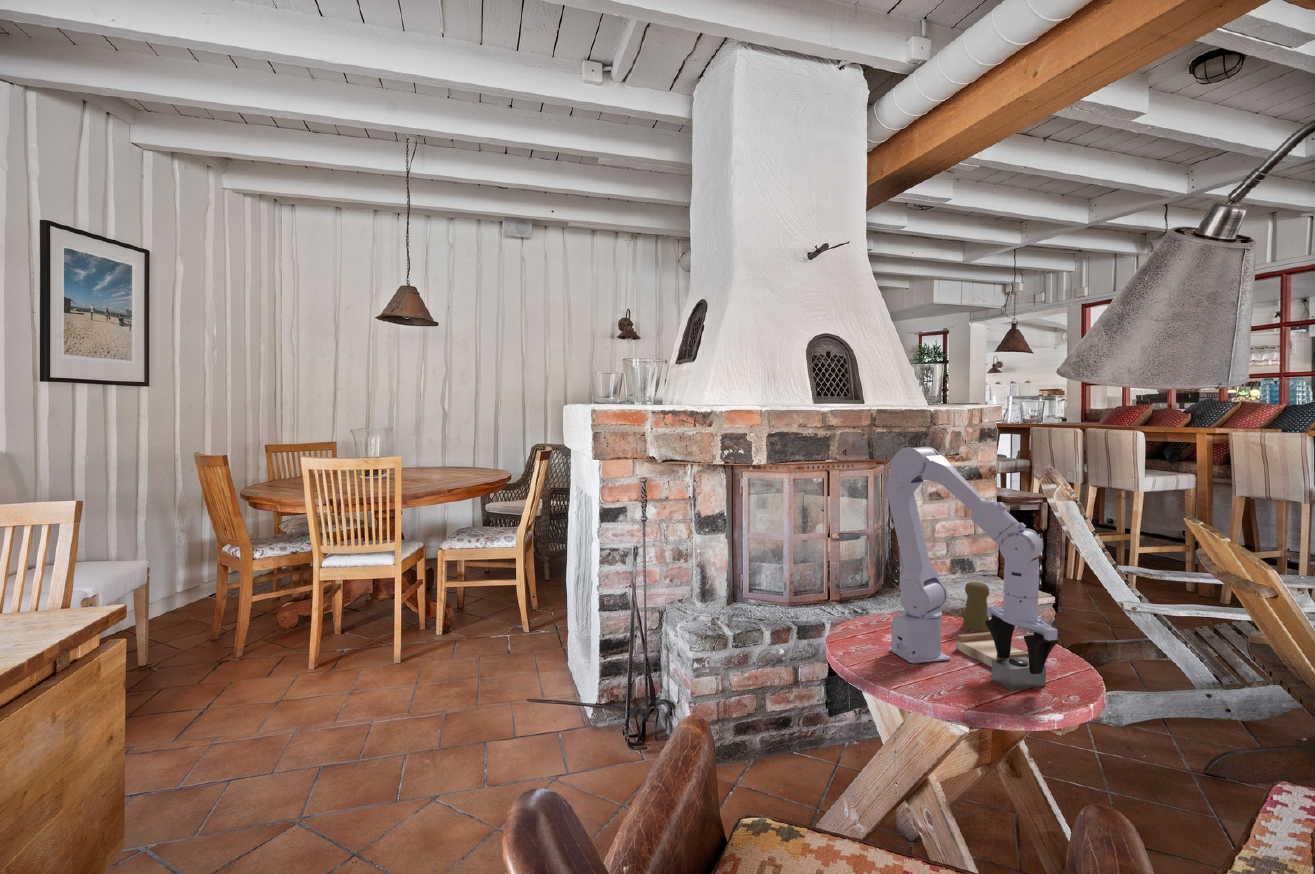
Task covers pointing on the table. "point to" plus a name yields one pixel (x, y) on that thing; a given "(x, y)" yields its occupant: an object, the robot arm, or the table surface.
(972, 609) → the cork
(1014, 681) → the housing
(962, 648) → the stand
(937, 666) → the table surface
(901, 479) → the robot arm
